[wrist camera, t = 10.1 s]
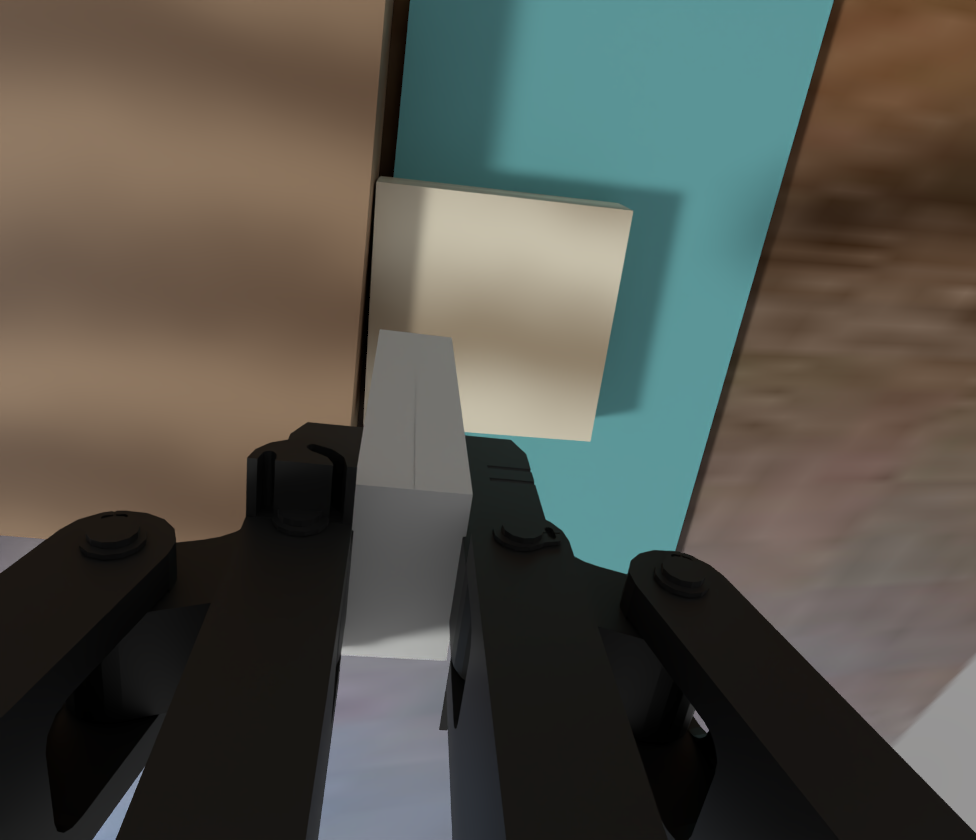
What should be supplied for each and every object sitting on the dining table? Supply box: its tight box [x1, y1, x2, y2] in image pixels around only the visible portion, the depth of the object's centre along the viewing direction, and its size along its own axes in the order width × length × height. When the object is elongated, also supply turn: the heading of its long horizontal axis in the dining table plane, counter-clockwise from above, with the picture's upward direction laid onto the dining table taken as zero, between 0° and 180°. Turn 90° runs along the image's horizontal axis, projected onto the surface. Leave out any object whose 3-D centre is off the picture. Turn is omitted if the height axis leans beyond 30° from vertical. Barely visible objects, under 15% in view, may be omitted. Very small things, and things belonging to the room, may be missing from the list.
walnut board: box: [0, 0, 394, 542], centre depth 23 cm, size 18×16×4 cm
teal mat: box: [394, 0, 834, 574], centre depth 26 cm, size 24×13×1 cm, turn 172°
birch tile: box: [363, 176, 633, 442], centre depth 25 cm, size 8×8×2 cm
